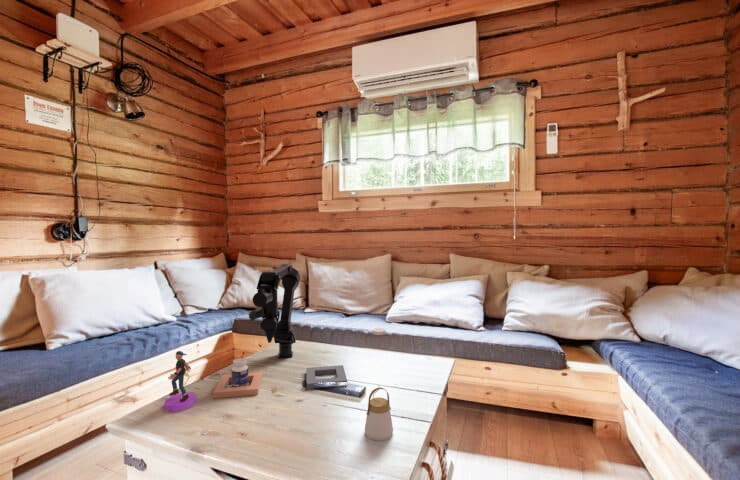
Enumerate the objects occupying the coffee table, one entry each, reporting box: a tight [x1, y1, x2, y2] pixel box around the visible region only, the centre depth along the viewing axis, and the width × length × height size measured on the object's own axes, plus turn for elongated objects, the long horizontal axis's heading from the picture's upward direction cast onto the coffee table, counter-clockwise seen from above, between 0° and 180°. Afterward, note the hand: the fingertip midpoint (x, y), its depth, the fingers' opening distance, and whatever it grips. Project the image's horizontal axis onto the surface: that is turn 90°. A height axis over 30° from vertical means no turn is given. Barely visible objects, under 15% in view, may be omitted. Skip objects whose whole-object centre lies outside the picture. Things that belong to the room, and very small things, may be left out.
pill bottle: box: [231, 358, 249, 387], centre depth 131 cm, size 6×6×10 cm
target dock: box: [212, 371, 264, 399], centre depth 131 cm, size 15×15×2 cm
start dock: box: [305, 364, 348, 390], centre depth 137 cm, size 15×15×2 cm
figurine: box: [164, 350, 197, 413], centre depth 117 cm, size 9×9×18 cm
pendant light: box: [364, 327, 394, 442], centre depth 101 cm, size 8×8×30 cm
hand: (270, 339), depth 146 cm, fingers open, 9 cm apart
